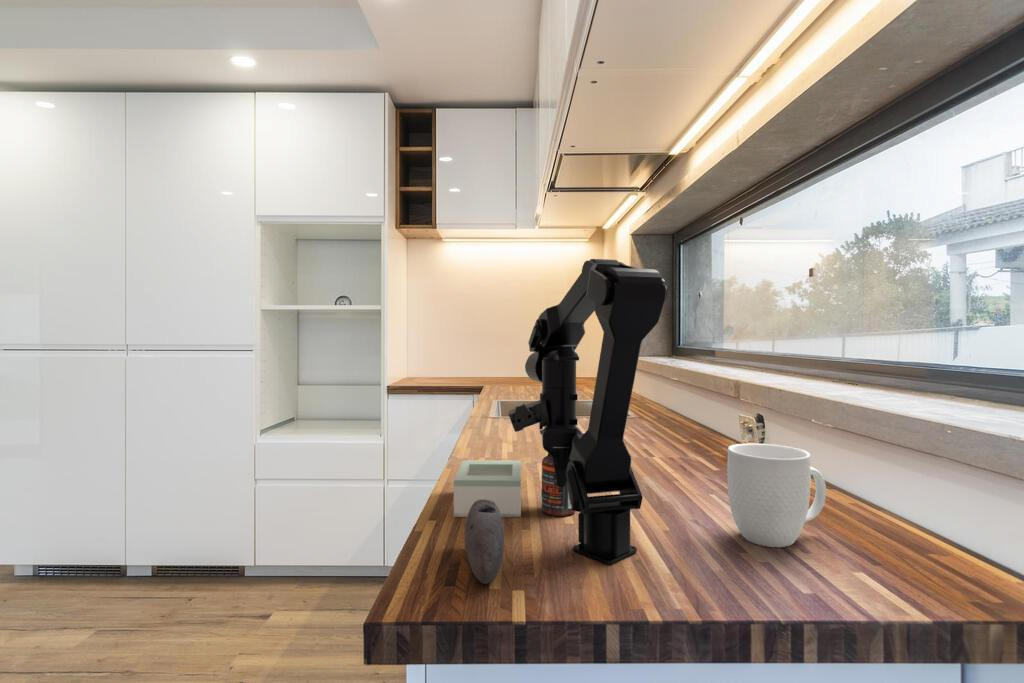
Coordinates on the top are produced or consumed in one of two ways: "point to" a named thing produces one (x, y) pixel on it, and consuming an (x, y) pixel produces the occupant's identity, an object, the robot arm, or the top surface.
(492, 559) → the perforated stone tool
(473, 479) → the green and cream box
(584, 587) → the top surface
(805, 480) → the mug
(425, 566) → the top surface
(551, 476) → the supplement bottle
